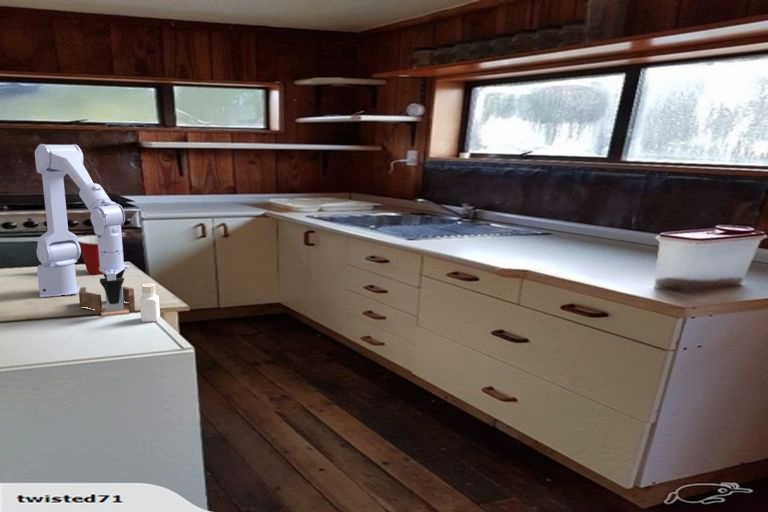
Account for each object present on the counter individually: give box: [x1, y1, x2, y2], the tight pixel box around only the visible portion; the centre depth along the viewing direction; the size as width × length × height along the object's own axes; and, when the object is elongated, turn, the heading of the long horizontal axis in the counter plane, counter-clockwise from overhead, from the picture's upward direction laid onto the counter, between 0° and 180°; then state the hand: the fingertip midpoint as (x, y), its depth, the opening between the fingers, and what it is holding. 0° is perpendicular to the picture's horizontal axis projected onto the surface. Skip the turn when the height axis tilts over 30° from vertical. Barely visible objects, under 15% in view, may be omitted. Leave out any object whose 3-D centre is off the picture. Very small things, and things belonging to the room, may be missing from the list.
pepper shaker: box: [139, 282, 161, 323], centre depth 133 cm, size 4×4×10 cm
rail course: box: [78, 286, 136, 315], centre depth 142 cm, size 13×12×4 cm
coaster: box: [100, 304, 130, 317], centre depth 139 cm, size 7×6×1 cm
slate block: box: [105, 285, 125, 312], centre depth 139 cm, size 4×4×8 cm
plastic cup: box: [77, 235, 103, 276], centre depth 173 cm, size 11×11×12 cm
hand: (114, 299), depth 139 cm, fingers open, 7 cm apart
